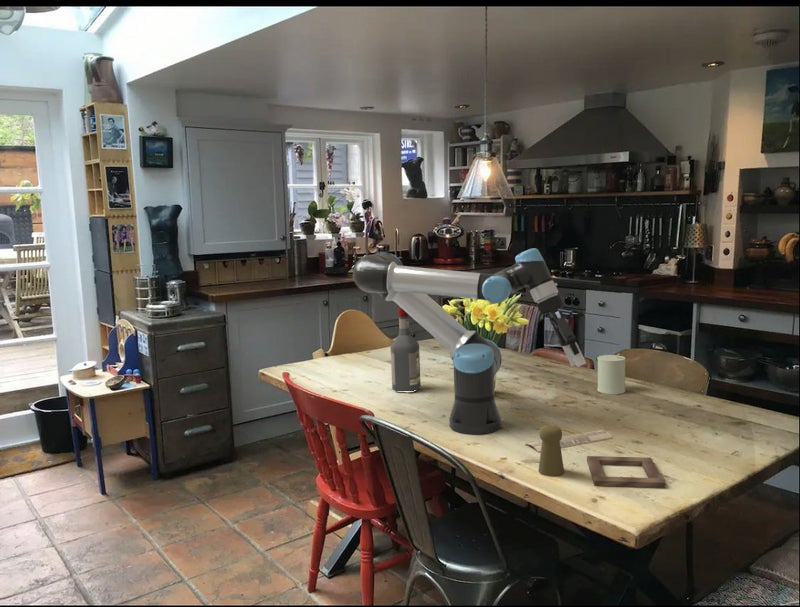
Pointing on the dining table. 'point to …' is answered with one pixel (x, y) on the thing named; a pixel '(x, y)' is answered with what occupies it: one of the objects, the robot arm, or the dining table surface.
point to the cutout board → (600, 480)
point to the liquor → (405, 358)
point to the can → (611, 374)
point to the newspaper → (577, 439)
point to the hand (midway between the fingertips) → (578, 365)
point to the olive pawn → (551, 452)
